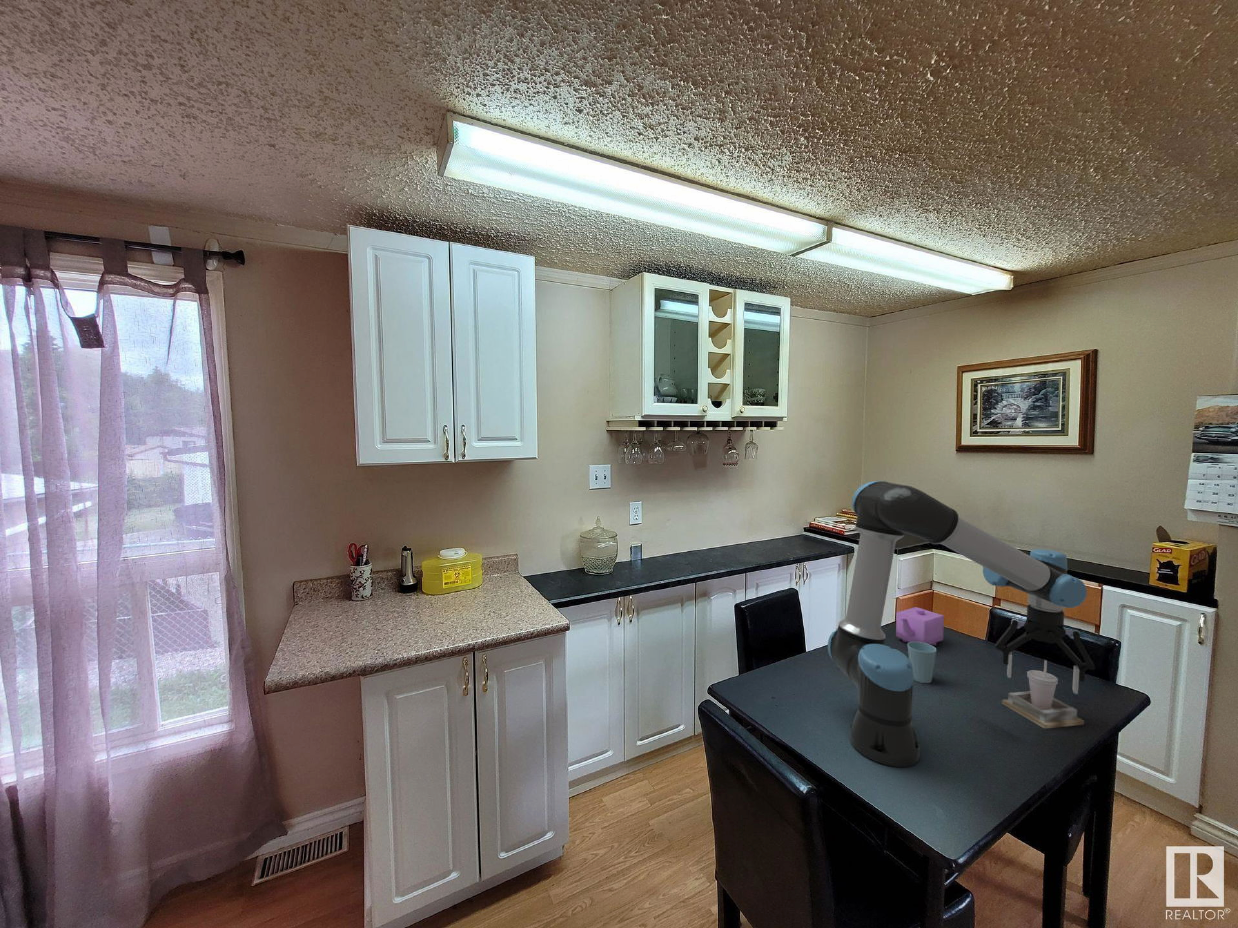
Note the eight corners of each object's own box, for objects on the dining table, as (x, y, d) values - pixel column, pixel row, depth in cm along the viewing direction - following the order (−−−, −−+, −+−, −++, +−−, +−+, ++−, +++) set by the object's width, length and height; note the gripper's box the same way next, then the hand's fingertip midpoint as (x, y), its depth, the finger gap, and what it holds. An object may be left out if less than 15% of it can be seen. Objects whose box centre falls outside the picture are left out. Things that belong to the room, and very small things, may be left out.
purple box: (919, 632, 186) (920, 601, 185) (947, 642, 177) (948, 609, 176) (886, 643, 177) (887, 610, 176) (913, 654, 168) (914, 619, 167)
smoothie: (1060, 718, 127) (1062, 667, 127) (1029, 712, 130) (1031, 662, 130) (1052, 706, 133) (1054, 657, 132) (1022, 701, 136) (1024, 652, 135)
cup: (941, 681, 149) (942, 649, 148) (925, 687, 146) (926, 653, 145) (917, 671, 156) (918, 639, 155) (901, 676, 153) (902, 644, 152)
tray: (1044, 728, 125) (1045, 715, 125) (1001, 703, 137) (1002, 691, 137) (1083, 724, 127) (1084, 711, 126) (1038, 699, 138) (1038, 687, 138)
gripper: (1107, 613, 125) (1102, 692, 127) (987, 594, 140) (983, 664, 142) (1113, 622, 119) (1108, 704, 121) (987, 601, 134) (983, 674, 136)
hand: (1041, 683), depth 131 cm, fingers open, 13 cm apart
